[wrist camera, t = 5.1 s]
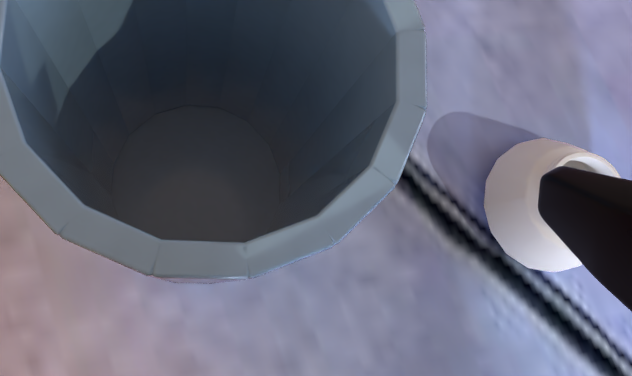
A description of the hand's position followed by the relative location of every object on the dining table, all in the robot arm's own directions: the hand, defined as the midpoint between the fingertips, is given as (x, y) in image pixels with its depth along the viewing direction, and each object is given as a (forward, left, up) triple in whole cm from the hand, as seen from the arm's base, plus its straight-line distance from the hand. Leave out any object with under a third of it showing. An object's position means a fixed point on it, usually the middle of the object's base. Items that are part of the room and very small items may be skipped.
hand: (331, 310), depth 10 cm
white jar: (-9, -8, -11) cm, 16 cm away
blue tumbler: (+3, -3, -11) cm, 12 cm away
